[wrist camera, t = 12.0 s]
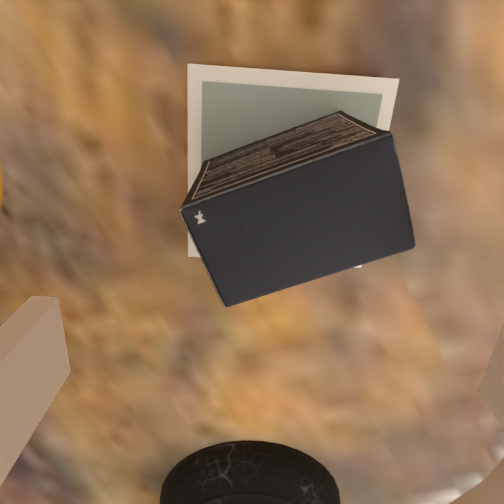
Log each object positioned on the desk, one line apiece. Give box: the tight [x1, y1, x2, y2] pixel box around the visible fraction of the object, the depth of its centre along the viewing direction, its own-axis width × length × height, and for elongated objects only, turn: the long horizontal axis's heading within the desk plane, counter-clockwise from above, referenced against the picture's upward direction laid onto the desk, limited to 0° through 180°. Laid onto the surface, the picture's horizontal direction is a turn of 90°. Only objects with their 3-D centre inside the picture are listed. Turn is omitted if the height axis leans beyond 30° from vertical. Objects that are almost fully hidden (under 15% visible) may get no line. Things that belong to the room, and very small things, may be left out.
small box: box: [179, 110, 415, 307], centre depth 23 cm, size 11×6×10 cm, turn 110°
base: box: [188, 64, 399, 268], centre depth 30 cm, size 14×14×4 cm
